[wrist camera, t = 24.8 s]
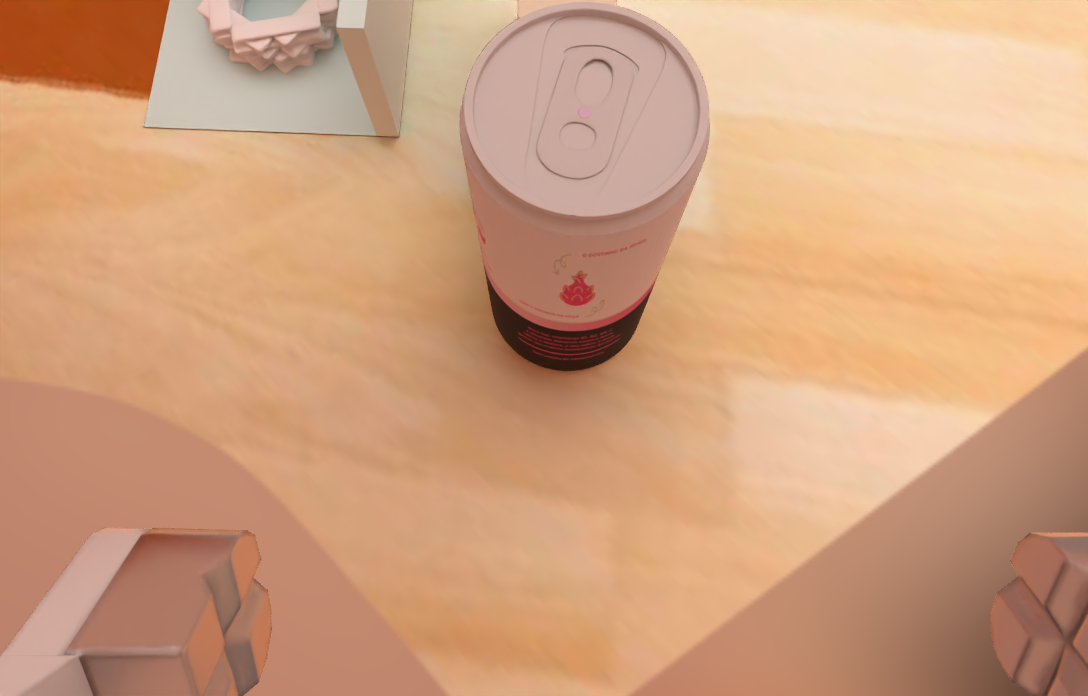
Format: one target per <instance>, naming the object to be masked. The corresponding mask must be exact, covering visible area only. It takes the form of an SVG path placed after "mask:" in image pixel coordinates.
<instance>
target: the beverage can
mask: <svg viewBox="0 0 1088 696" xmlns="http://www.w3.org/2000/svg"><path fill="white" fill-rule="evenodd" d="M709 134H710V123H709V102H708V95H707V90H706V86H705V83H704V80H703V77H702V75H701V72H700V70H699V68H698V66H697V64H696V62H695V61H694V59H693V58H692V56H691V55H690V53H689V52H688V50H687V49H686V48H685V47H684V46H683V44H682V43H681V42H680V41H679V40H678V39H677V38H676V37H675V36H674V35H673V34H671V33H670V32H669V31H668V30H667V29H665V28H664V27H662V26H661V25H660V24H658V23H656V22H655V21H653V20H651V19H650V18H648V17H646V16H644V15H642V14H639V13H637V12H635V11H632V10H629V9H626V8H623V7H619V6H615V5H610V4H604V3H595V2H572V3H564V4H558V5H553V6H549V7H545V8H542V9H539V10H537V11H534V12H532V13H529V14H527V15H525V16H523V17H521V18H519V19H518V20H516V21H514V22H512V23H511V24H510V25H508V26H507V27H505V28H504V29H503V30H502V31H500V32H499V33H498V34H497V35H496V36H495V37H494V38H493V39H492V40H491V41H490V42H489V43H488V44H487V45H486V47H485V48H484V49H483V51H482V52H481V54H480V55H479V57H478V58H477V60H476V62H475V64H474V66H473V68H472V70H471V73H470V75H469V78H468V81H467V85H466V90H465V94H464V97H463V101H462V106H461V112H460V137H461V143H462V149H463V154H464V160H465V165H466V170H467V176H468V181H469V187H470V192H471V198H472V203H473V209H474V214H475V219H476V225H477V230H478V236H479V241H480V247H481V252H482V257H483V263H484V268H485V274H486V279H487V285H488V290H489V295H490V301H491V306H492V311H493V316H494V319H495V322H496V325H497V327H498V329H499V331H500V333H501V335H502V336H503V338H504V339H505V341H506V342H507V343H508V344H509V345H510V346H511V347H512V348H513V349H514V350H515V351H516V352H517V353H518V354H519V355H521V356H522V357H523V358H525V359H527V360H528V361H530V362H532V363H534V364H537V365H539V366H542V367H545V368H549V369H553V370H561V371H575V370H582V369H587V368H590V367H594V366H596V365H599V364H601V363H603V362H605V361H607V360H608V359H610V358H611V357H613V356H614V355H616V354H617V353H618V352H619V351H620V350H621V349H622V348H623V347H624V346H625V345H626V344H627V343H628V341H629V340H630V339H631V337H632V335H633V334H634V332H635V330H636V328H637V325H638V323H639V321H640V318H641V316H642V313H643V311H644V308H645V306H646V303H647V301H648V298H649V296H650V293H651V291H652V288H653V286H654V284H655V281H656V279H657V276H658V274H659V271H660V269H661V266H662V264H663V261H664V259H665V256H666V254H667V251H668V249H669V246H670V244H671V242H672V239H673V237H674V234H675V232H676V229H677V227H678V224H679V222H680V219H681V217H682V214H683V212H684V209H685V207H686V204H687V202H688V200H689V197H690V195H691V192H692V190H693V187H694V185H695V182H696V180H697V177H698V175H699V172H700V170H701V167H702V165H703V162H704V160H705V156H706V153H707V149H708V143H709Z"/></svg>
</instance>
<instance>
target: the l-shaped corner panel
mask: <svg viewBox="0 0 1088 696" xmlns="http://www.w3.org/2000/svg"><path fill="white" fill-rule="evenodd" d="M412 7H413V0H170V3H169V8H168V12H167V17H166V22H165V27H164V32H163V37H162V41H161V46H160V51H159V56H158V61H157V65H156V70H155V75H154V80H153V85H152V89H151V94H150V99H149V104H148V109H147V114H146V118H145V123H144V127H161V128H187V129H213V130H239V131H265V132H292V133H318V134H344V135H370V136H396V137H399V132H400V123H401V113H402V103H403V94H404V84H405V74H406V65H407V55H408V45H409V36H410V26H411V16H412Z"/></svg>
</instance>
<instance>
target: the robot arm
mask: <svg viewBox="0 0 1088 696" xmlns="http://www.w3.org/2000/svg"><path fill="white" fill-rule="evenodd" d="M260 561H261V556H260V552H259V548H258V544H257V541H256V537H255V535H254V534H252V533H251V532H249V531H247V530H210V529H174V528H152V529H136V528H103V529H101V530H99V531H97V532H95V533H93V534H91V535H90V536H89V537H88V538H87V540H86V541H85V542H84V544H83V545H82V546H81V548H80V549H79V551H78V552H77V553H76V555H75V556H74V557H73V559H72V560H71V561H70V563H69V564H68V565H67V567H66V568H65V569H64V571H63V572H62V573H61V575H60V576H59V577H58V579H57V580H56V581H55V583H54V584H53V586H52V587H51V588H50V590H49V591H48V593H47V594H46V595H45V596H44V598H43V599H42V600H41V602H40V603H39V604H38V606H37V607H36V608H35V610H34V611H33V612H32V614H31V615H30V617H29V618H28V619H27V620H26V622H25V623H24V625H23V626H22V627H21V629H20V630H19V631H18V633H17V634H16V635H15V637H14V638H13V639H12V641H11V642H10V643H9V645H8V646H7V647H6V649H5V650H4V651H3V653H2V654H1V655H0V696H243V695H244V694H246V693H247V692H248V691H249V690H250V689H251V688H253V687H254V686H255V685H256V684H257V683H258V682H259V679H260V677H261V674H262V671H263V668H264V665H265V662H266V659H267V655H268V649H269V643H270V637H271V630H272V626H271V625H272V623H271V622H272V621H271V604H270V599H269V594H268V590H267V589H265V588H264V587H263V586H262V585H261V584H260V583H259V582H258V581H256V580H255V579H254V575H255V573H256V570H257V568H258V566H259V563H260ZM1010 562H1011V564H1012V565H1013V567H1014V569H1015V571H1016V573H1017V575H1018V577H1017V578H1015V579H1014V580H1013V581H1011V582H1010V583H1009V584H1007V585H1006V586H1005V587H1004V588H1002V589H1001V590H1000V591H998V593H997V596H996V599H995V601H994V604H993V607H992V610H991V614H990V624H991V637H992V643H993V645H994V648H995V651H996V654H997V656H998V659H999V661H1000V663H1001V665H1002V666H1003V668H1004V670H1005V671H1006V673H1007V674H1008V676H1009V678H1010V679H1011V681H1012V682H1013V683H1015V684H1016V685H1017V686H1019V687H1020V688H1022V689H1023V690H1024V691H1026V692H1027V693H1029V694H1030V695H1032V696H1088V533H1029V534H1028V535H1027V536H1025V537H1024V538H1023V539H1022V540H1021V541H1020V542H1018V544H1017V546H1016V549H1015V551H1014V553H1013V556H1012V558H1011V560H1010Z"/></svg>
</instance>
